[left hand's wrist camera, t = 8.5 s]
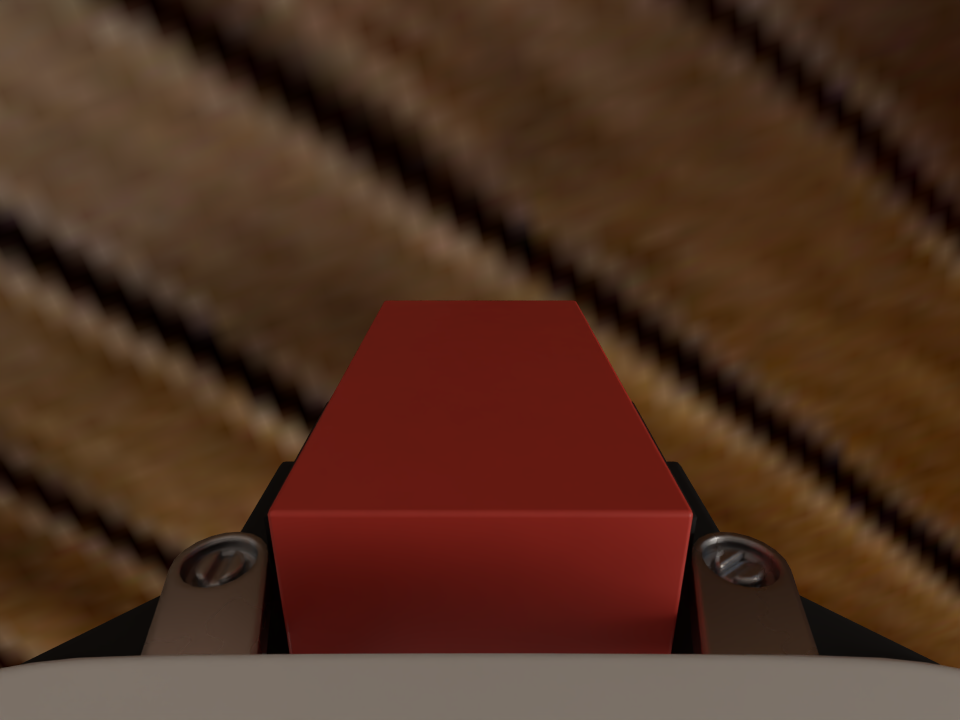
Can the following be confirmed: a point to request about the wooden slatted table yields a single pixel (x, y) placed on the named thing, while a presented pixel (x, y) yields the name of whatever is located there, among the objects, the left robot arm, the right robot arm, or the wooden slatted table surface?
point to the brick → (480, 495)
